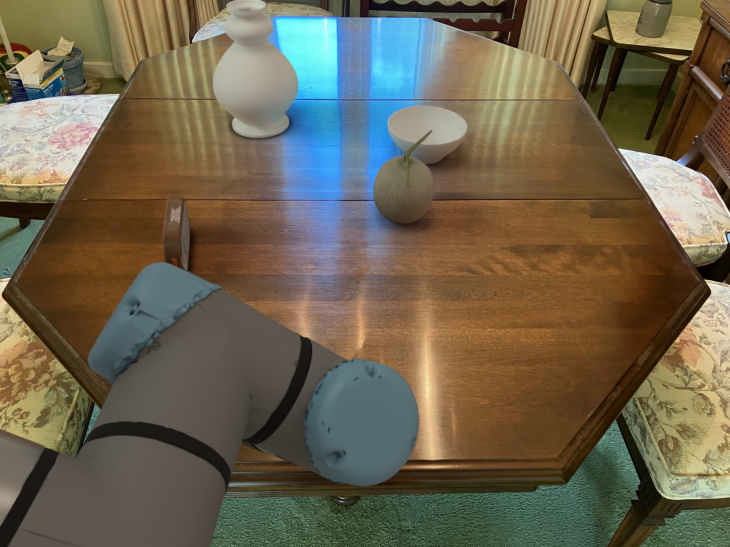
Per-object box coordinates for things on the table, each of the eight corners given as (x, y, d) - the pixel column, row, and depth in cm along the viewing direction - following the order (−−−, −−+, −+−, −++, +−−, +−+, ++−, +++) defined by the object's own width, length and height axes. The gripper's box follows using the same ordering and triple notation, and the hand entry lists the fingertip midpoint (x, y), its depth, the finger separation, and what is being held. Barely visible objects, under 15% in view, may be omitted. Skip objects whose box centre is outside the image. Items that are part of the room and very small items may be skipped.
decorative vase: (296, 145, 116) (286, 22, 99) (212, 143, 116) (188, 20, 99) (304, 106, 129) (297, -9, 112) (229, 104, 129) (210, -11, 112)
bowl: (396, 179, 108) (398, 147, 103) (378, 138, 119) (379, 108, 114) (473, 172, 110) (479, 140, 105) (449, 132, 121) (453, 102, 117)
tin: (176, 227, 96) (164, 186, 90) (194, 225, 96) (184, 185, 90) (169, 287, 85) (156, 245, 79) (190, 285, 85) (179, 243, 80)
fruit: (372, 238, 94) (374, 162, 84) (372, 198, 103) (374, 125, 93) (433, 239, 94) (443, 163, 84) (428, 199, 103) (436, 127, 93)
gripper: (239, 498, 43) (178, 457, 63) (362, 402, 49) (272, 393, 70) (191, 416, 42) (145, 401, 62) (323, 330, 49) (242, 342, 69)
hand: (212, 397), depth 66 cm, fingers closed
